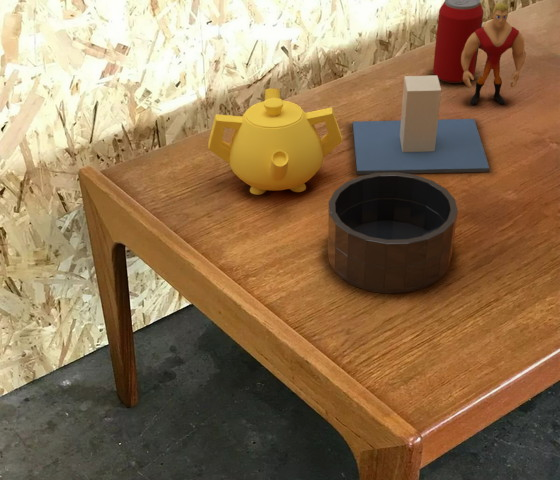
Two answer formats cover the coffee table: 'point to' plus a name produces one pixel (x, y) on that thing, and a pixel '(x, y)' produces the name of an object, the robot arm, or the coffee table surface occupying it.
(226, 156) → the teapot
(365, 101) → the coffee table surface
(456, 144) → the blue rectangular board
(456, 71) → the beverage can
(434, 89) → the item
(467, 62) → the action figure
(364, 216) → the pot
